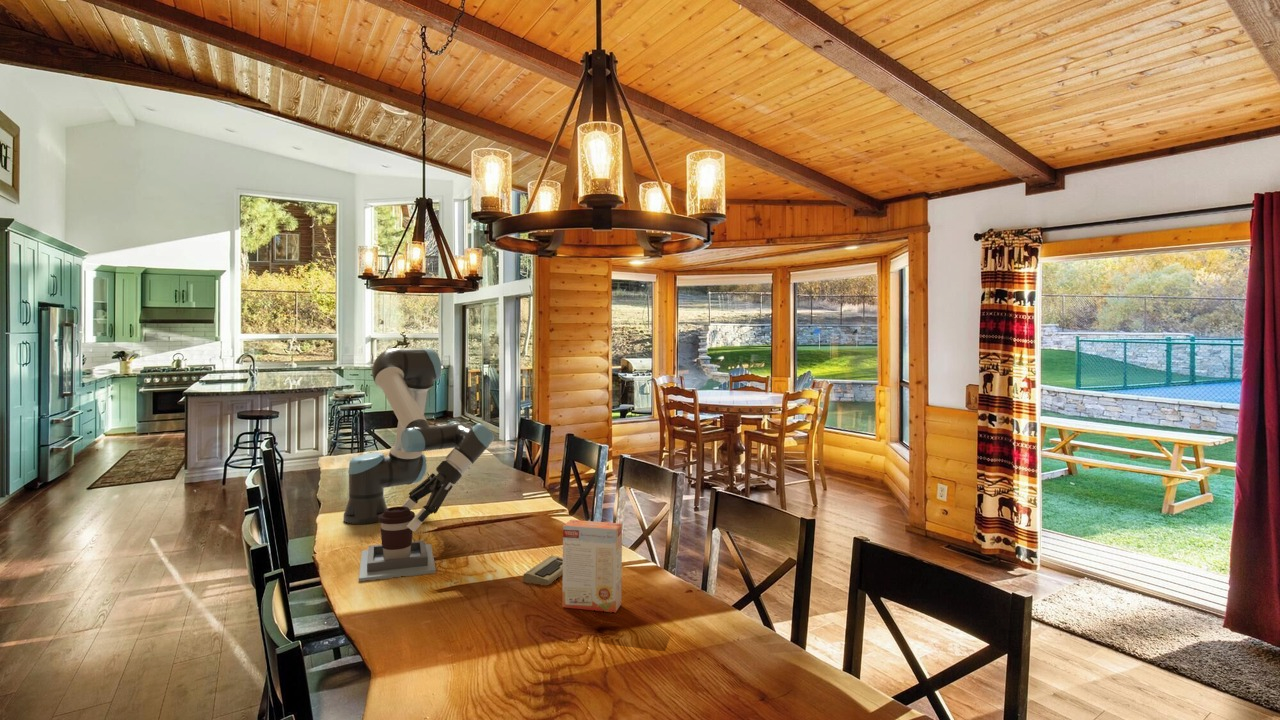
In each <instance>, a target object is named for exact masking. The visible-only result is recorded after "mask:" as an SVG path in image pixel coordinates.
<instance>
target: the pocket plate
mask: <svg viewBox="0 0 1280 720" xmlns="http://www.w3.org/2000/svg"><path fill="white" fill-rule="evenodd" d="M436 568H437V567H436V565H435V559H434V554H433V548H432V544H431V543H426V540H424V539H423V540H414V541H413V540H412V544H411V551H410V557H407V558H398V559H388V560H384V556H383V548H382V544H374V545H372V544H371V545H368V549H364V550H361V557H360V565H359V573H358V582H359V581H363V582H366V581H365V580H372V581H377V580H376V579H380V580H387V579H388V578H389V579H394V578H393V577H398V578H402V577H401V576H406V577H414V576H421V575H428V574H429V575H430V574H436V573H437V569H436Z"/></svg>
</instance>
